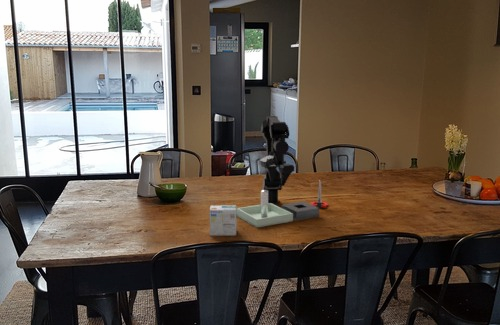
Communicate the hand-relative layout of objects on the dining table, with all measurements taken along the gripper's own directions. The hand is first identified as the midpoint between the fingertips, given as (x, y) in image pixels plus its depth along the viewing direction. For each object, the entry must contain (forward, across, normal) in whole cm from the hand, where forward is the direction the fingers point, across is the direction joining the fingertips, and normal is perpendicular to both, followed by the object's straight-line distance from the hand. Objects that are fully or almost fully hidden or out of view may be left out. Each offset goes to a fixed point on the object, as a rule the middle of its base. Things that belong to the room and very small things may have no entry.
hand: (277, 183), depth 226 cm
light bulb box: (+13, +15, -35) cm, 40 cm away
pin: (+12, +7, -11) cm, 18 cm away
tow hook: (+13, +2, +23) cm, 27 cm away
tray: (+13, +7, -11) cm, 18 cm away
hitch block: (+13, +10, +6) cm, 17 cm away
